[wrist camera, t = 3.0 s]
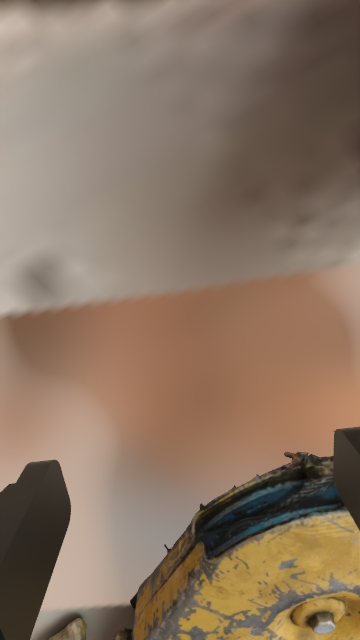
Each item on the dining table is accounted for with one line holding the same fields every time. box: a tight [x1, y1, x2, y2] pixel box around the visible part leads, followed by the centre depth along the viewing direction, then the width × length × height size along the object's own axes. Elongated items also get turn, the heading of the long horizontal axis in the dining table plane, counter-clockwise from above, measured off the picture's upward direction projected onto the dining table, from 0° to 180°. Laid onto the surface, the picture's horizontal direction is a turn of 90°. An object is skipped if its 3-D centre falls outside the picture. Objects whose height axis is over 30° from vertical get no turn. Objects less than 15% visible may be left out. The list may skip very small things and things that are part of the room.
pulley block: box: [48, 452, 360, 640], centre depth 19 cm, size 14×6×30 cm
